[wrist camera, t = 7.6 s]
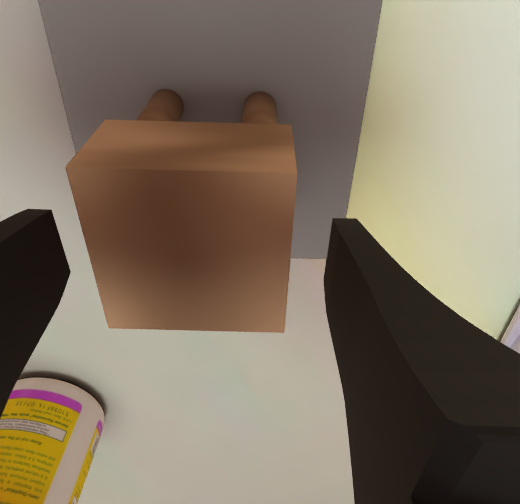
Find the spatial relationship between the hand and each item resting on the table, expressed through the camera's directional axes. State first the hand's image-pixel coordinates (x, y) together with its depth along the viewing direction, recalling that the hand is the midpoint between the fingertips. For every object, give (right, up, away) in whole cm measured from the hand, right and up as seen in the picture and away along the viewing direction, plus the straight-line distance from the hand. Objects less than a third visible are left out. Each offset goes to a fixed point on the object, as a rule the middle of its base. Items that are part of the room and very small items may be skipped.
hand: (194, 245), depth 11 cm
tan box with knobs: (0, +4, +6) cm, 7 cm away
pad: (0, +4, +6) cm, 7 cm away
